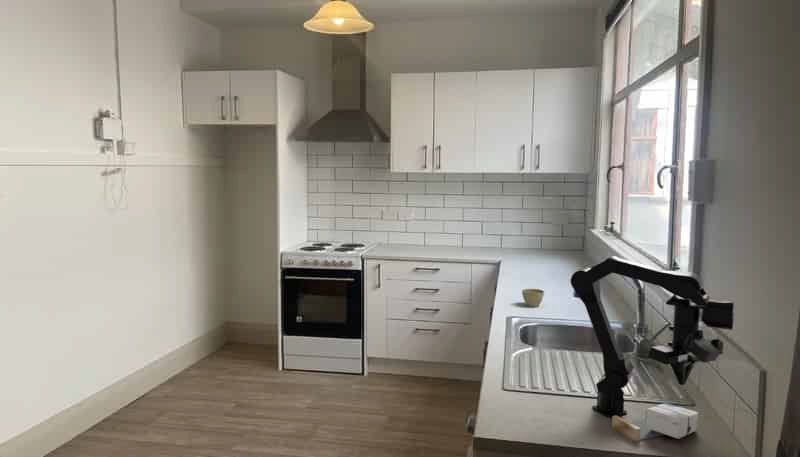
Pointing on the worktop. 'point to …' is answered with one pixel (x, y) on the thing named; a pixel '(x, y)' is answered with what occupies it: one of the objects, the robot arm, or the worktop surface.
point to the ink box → (671, 420)
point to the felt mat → (646, 430)
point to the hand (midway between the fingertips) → (681, 384)
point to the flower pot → (532, 297)
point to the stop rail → (626, 428)
